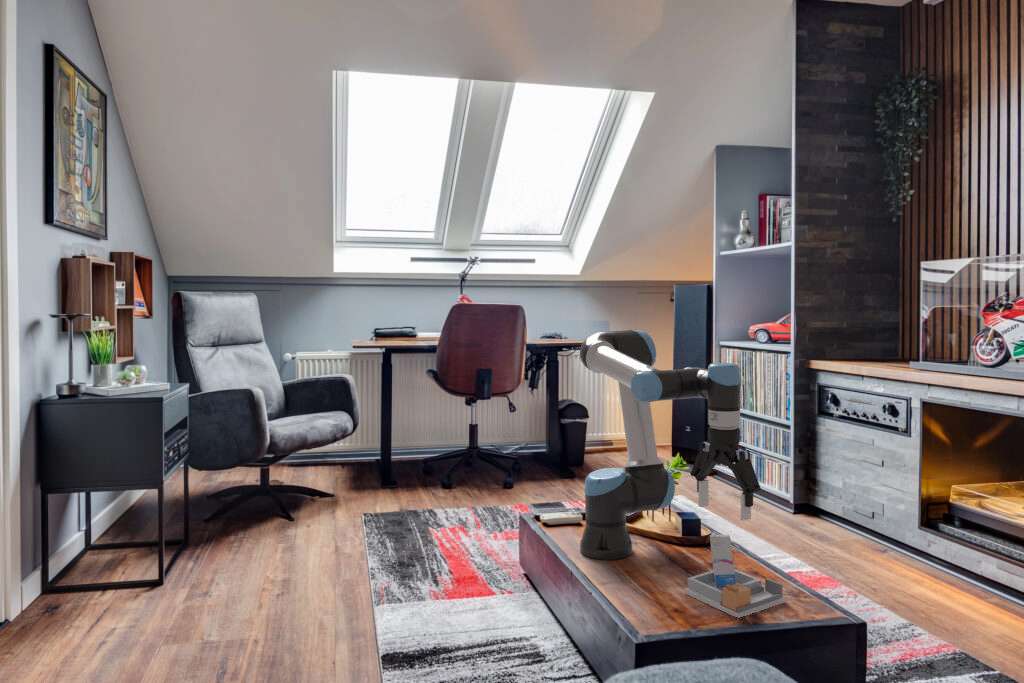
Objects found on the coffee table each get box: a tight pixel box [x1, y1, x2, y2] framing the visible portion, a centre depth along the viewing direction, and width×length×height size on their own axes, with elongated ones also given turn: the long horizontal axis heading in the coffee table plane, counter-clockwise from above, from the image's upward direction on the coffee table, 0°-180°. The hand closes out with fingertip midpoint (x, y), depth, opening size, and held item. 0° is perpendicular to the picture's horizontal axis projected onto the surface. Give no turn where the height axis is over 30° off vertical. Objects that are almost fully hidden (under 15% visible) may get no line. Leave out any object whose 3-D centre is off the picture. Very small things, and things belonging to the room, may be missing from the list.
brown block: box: [722, 583, 751, 611], centre depth 168 cm, size 4×5×5 cm
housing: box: [684, 568, 786, 619], centre depth 175 cm, size 17×16×4 cm
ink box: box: [709, 534, 736, 587], centre depth 179 cm, size 9×5×12 cm, turn 166°
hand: (724, 512), depth 177 cm, fingers open, 13 cm apart
